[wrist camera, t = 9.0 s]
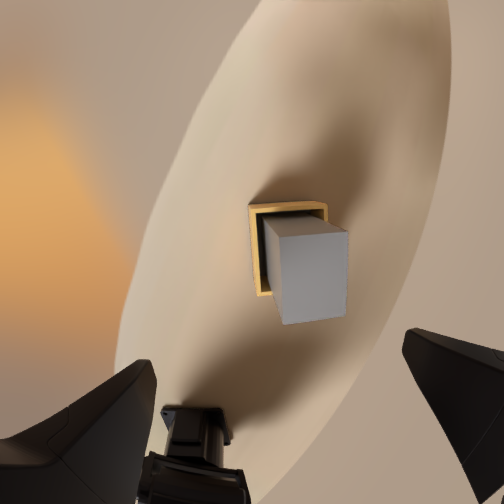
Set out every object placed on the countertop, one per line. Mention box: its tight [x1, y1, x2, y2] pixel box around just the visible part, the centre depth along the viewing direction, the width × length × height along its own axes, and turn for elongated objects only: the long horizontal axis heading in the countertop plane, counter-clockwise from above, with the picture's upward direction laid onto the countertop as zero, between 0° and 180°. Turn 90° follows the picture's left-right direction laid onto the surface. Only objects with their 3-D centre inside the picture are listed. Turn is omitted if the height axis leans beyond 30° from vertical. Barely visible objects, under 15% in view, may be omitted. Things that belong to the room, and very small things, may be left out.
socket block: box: [248, 200, 328, 296], centre depth 18 cm, size 5×5×4 cm
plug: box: [261, 212, 348, 325], centre depth 15 cm, size 4×3×8 cm
